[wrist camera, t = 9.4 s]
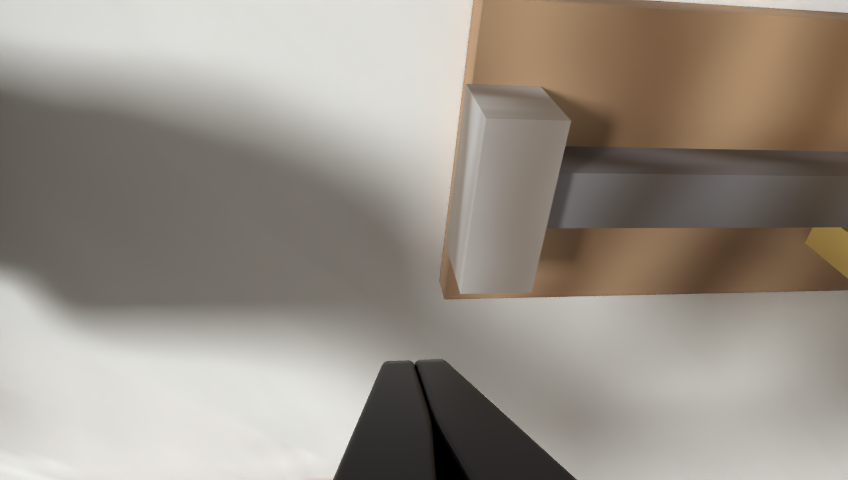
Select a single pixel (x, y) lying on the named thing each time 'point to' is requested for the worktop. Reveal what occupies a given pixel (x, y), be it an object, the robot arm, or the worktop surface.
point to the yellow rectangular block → (831, 246)
